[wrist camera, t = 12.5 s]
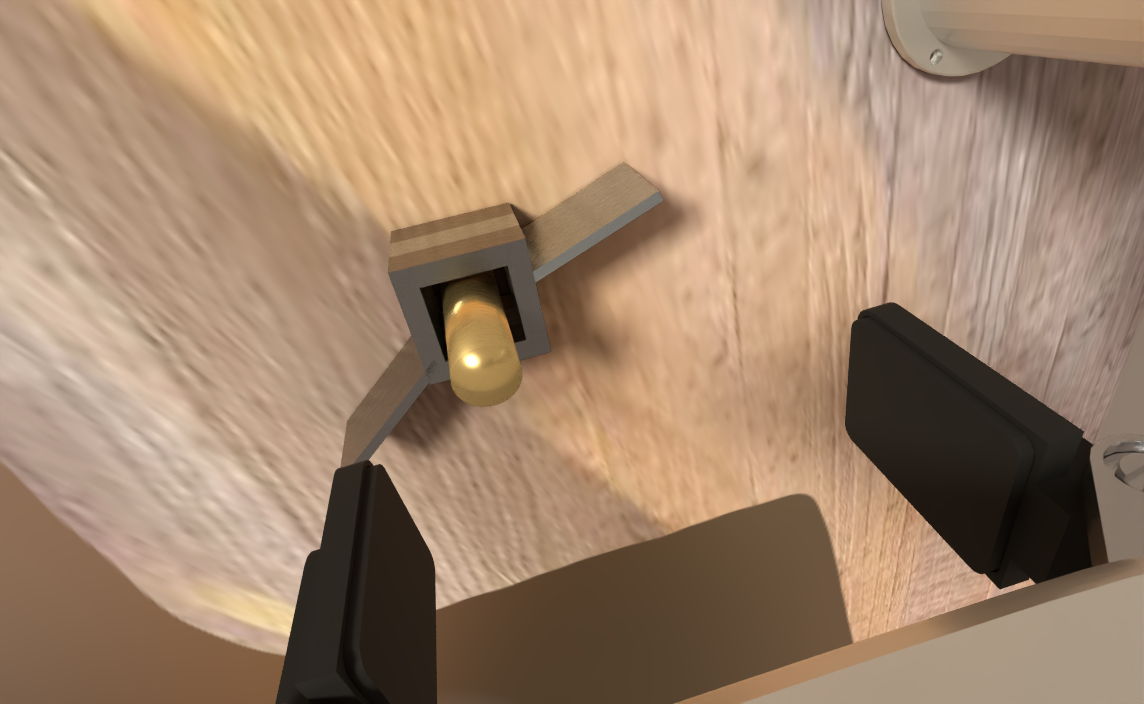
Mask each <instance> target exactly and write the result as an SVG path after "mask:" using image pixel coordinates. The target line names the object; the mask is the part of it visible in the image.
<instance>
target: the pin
mask: <svg viewBox="0 0 1144 704" xmlns="http://www.w3.org/2000/svg"><path fill="white" fill-rule="evenodd" d="M440 287H441V296H442V305H443V314H444V324H445V333H446V342H447V352H448V361H449V370H450V379H451V386H452V389H453V391H454V392H455V394H456V395H457V396H458V397H459V398H460V399H461V400H462V401H464V402H466V403H468V404H470V405H474V406H480V407H488V406H494V405H497V404H500V403H502V402H504V401H506V400H508V399H509V398H510V397H512V396H513V395H514V394H515V392H516V391H517V390H518V388H519V386H520V384H521V381H522V368H521V364H520V361H519V358H518V354H517V351H516V348H515V344H514V341H513V338H512V334H511V331H510V328H509V324H508V321H507V317H506V314H505V311H504V307H503V304H502V301H501V297H500V294H499V291H498V287H497V284H496V281H495V277H494V274H493V270H488V271H484V272H481V273H477V274H473V275H469V276H465V277H461V278H457V279H453V280H449V281H445V282H442V283H440Z"/></svg>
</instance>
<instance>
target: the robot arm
mask: <svg viewBox="0 0 1144 704" xmlns="http://www.w3.org/2000/svg"><path fill="white" fill-rule="evenodd" d="M882 10H883V15H884V21H885V26H886V29H887V31H888V34H889V36H890V39H891V41H892V44H893V45H894V47H895V48H896V49H897V51H898V52H899V54H900V55H901V56H902V58H904V59H905V60H906V61H907V62H908V63H910V64H911V65H912V66H913V67H915V68H917V69H920V70H922V71H924V72H927V73H930V74H937V75H942V76H965V75H969V74H973V73H977V72H981V71H983V70H985V69H987V68H989V67H992V66H994V65H996V64H998V63H999V62H1001V61H1002V60H1004V59H1005V58H1007V57H1008V56H1010V55H1011V54H1019V55H1028V56H1038V57H1047V58H1057V59H1066V60H1075V61H1085V62H1094V63H1103V64H1113V65H1122V66H1132V67H1141V68H1144V0H882ZM845 426H846V430H847V433H848V435H849V437H850V438H851V440H852V441H853V442H854V443H855V444H856V445H857V446H858V447H859V448H860V450H861V451H862V452H863V453H864V454H865V455H866V456H867V457H868V458H869V459H870V460H871V461H872V462H873V464H874V465H875V466H876V467H877V468H878V469H879V470H880V471H881V472H882V473H883V474H884V475H885V477H886V478H887V479H888V480H889V481H890V482H891V483H892V484H893V485H894V486H895V487H896V488H897V489H898V491H899V492H900V493H901V494H902V495H903V496H904V497H905V498H906V499H907V500H908V501H909V502H910V503H911V505H912V506H913V507H914V508H915V509H916V510H917V511H918V512H919V513H920V514H921V515H922V516H923V517H924V519H925V520H926V521H927V522H928V523H929V524H930V525H931V526H932V527H933V528H934V529H935V530H936V531H937V533H938V534H939V535H940V536H941V537H942V538H943V539H944V540H945V541H946V542H947V543H948V544H949V545H950V547H951V548H952V549H953V550H954V551H955V552H956V553H957V554H958V555H959V556H960V557H961V558H962V559H963V561H964V562H965V563H966V564H967V565H968V566H969V567H970V568H971V569H972V570H973V571H975V572H977V573H979V574H984V573H985V574H986V575H987V576H988V578H989V579H990V580H991V581H992V582H993V583H994V584H995V585H996V586H997V587H998V588H999V589H1002V588H1005V587H1008V586H1011V585H1014V584H1017V583H1020V582H1023V581H1026V580H1029V577H1030V578H1031V579H1032V580H1033V581H1034V582H1035V583H1036V584H1035V585H1031V586H1028V587H1025V588H1022V589H1019V590H1015V591H1012V592H1009V593H1006V594H1002V595H999V596H996V597H993V598H990V599H987V600H984V601H981V602H978V603H975V604H972V605H969V606H966V607H963V608H960V609H957V610H954V611H950V612H947V613H944V614H941V615H938V616H935V617H932V618H929V619H926V620H923V621H920V622H917V623H914V624H911V625H908V626H905V627H902V628H899V629H896V630H893V631H890V632H887V633H884V634H881V635H878V636H875V637H872V638H869V639H865V640H862V641H859V642H856V643H854V644H851V645H848V646H845V647H842V648H839V649H836V650H833V651H830V652H827V653H824V654H821V655H818V656H815V657H812V658H809V659H806V660H803V661H800V662H797V663H794V664H791V665H788V666H785V667H782V668H779V669H776V670H773V671H770V672H767V673H764V674H761V675H758V676H755V677H752V678H749V679H746V680H743V681H740V682H738V683H734V684H731V685H728V686H725V687H723V688H719V689H717V690H714V691H711V692H707V693H705V694H701V695H698V696H696V697H693V698H690V699H687V700H684V701H681V702H678V703H675V704H1144V435H1135V434H1120V435H1113V436H1108V437H1106V438H1104V439H1101V440H1099V441H1097V442H1096V443H1095V445H1093V444H1091V443H1090V442H1088V441H1087V440H1086V439H1084V438H1083V437H1082V436H1083V433H1084V431H1082V430H1081V429H1079V428H1078V427H1076V426H1075V425H1073V424H1072V423H1071V422H1069V421H1068V420H1066V419H1065V418H1063V417H1062V416H1060V415H1059V414H1057V413H1056V412H1054V411H1053V410H1052V409H1050V408H1049V407H1047V406H1046V405H1044V404H1043V403H1041V402H1040V401H1038V400H1037V399H1035V398H1034V397H1033V396H1031V395H1030V394H1028V393H1027V392H1025V391H1024V390H1022V389H1021V388H1019V387H1018V386H1016V385H1015V384H1014V383H1012V382H1011V381H1009V380H1008V379H1006V378H1005V377H1003V376H1002V375H1000V374H999V373H997V372H996V371H995V370H993V369H992V368H990V367H989V366H987V365H986V364H984V363H983V362H981V361H980V360H978V359H977V358H975V357H974V356H973V355H971V354H970V353H968V352H967V351H965V350H964V349H962V348H961V347H959V346H958V345H956V344H955V343H954V342H952V341H951V340H949V339H948V338H946V337H945V336H943V335H942V334H940V333H939V332H937V331H936V330H935V329H933V328H932V327H930V326H929V325H927V324H926V323H924V322H923V321H921V320H920V319H918V318H917V317H916V316H914V315H913V314H911V313H910V312H908V311H907V310H905V309H904V308H902V307H901V306H899V305H898V304H896V303H891V302H889V303H886V304H883V305H879V306H876V307H873V308H869V309H866V310H863V311H862V312H860V314H859V316H858V320H856V321H854V322H853V324H852V327H851V341H850V356H849V371H848V386H847V401H846V416H845ZM436 671H437V670H436V594H435V566H434V561H433V557H432V554H431V552H430V550H429V548H428V547H427V545H426V543H425V541H424V539H423V537H422V536H421V534H420V532H419V530H418V528H417V527H416V525H415V523H414V521H413V519H412V517H411V516H410V514H409V512H408V510H407V508H406V506H405V505H404V503H403V501H402V499H401V497H400V495H399V494H398V492H397V490H396V488H395V486H394V484H393V483H392V481H391V479H390V477H389V475H388V474H387V472H386V470H385V468H384V467H383V466H382V465H381V464H378V465H375V466H373V464H372V463H371V462H370V461H369V460H365V461H361V462H358V463H355V464H351V465H348V466H345V467H341V468H338V469H337V470H336V471H335V474H334V478H333V483H332V489H331V494H330V499H329V504H328V510H327V515H326V520H325V526H324V531H323V536H322V541H321V547H320V549H319V550H315V551H312V552H311V553H310V554H309V555H308V557H307V560H306V563H305V566H304V571H303V576H302V580H301V585H300V590H299V595H298V599H297V604H296V609H295V614H294V618H293V623H292V628H291V633H290V637H289V642H288V647H287V652H286V656H285V661H284V666H283V671H282V676H281V680H280V685H279V690H278V694H277V699H276V704H437V672H436Z"/></svg>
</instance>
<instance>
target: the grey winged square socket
mask: <svg viewBox="0 0 1144 704" xmlns="http://www.w3.org/2000/svg"><path fill="white" fill-rule="evenodd" d="M662 201H663V198H662V196H661V194H660V192H659V190H657V189H656V188H655V187H654V186H652V185H651V184H650V183H649V182H647V181H646V180H645V179H644V178H643V177H641V176H640V175H639V174H638V173H636V172H635V171H634V170H633V169H631V168H630V167H629V166H628V165H626V164H625V163H624V162H623V163H622V164H620V165H619V166H617V167H616V168H614V169H613V170H611V171H609V172H608V173H606V174H605V175H603V176H602V177H600V178H599V179H597V180H596V181H594V182H593V183H591V184H590V185H588V186H587V187H585V188H583V189H582V190H580V191H579V192H577V193H576V194H574V195H573V196H571V197H570V198H568V199H567V200H565V201H564V202H562V203H561V204H559V205H558V206H556V207H554V208H553V209H551V210H550V211H548V212H547V213H545V214H544V215H542V216H541V217H539V218H538V219H536V220H535V221H533V222H532V223H530V224H528V225H527V226H525V227H524V228H522V229H521V228H520V226H519V223H518V221H517V219H516V217H515V215H514V213H513V211H512V208H511V206H510V204H509V203H505V204H501V205H497V206H493V207H489V208H485V209H481V210H477V211H473V212H469V213H465V214H461V215H457V216H452V217H448V218H444V219H440V220H436V221H432V222H428V223H424V224H420V225H416V226H412V227H408V228H403V229H399V230H395V231H391V240H390V253H389V266H388V274H389V277H390V280H391V282H392V285H393V287H394V290H395V293H396V295H397V298H398V301H399V303H400V306H401V309H402V311H403V314H404V317H405V319H406V322H407V324H408V327H409V330H410V332H411V335H412V336H411V337H410V338H409V340H408V341H407V342H406V344H405V345H404V346H403V348H402V349H401V350H400V352H399V353H398V354H397V356H396V357H395V358H394V360H393V361H392V362H391V364H390V365H389V366H388V368H387V369H386V370H385V372H384V373H383V374H382V376H381V377H380V378H379V380H378V381H377V382H376V384H375V385H374V386H373V388H372V389H371V390H370V392H369V393H368V394H367V396H366V397H365V398H364V400H363V401H362V402H361V404H360V405H359V406H358V408H357V409H356V410H355V412H354V413H353V414H352V416H351V417H350V418H349V420H348V421H347V426H346V433H345V440H344V447H343V454H342V461H341V467H345V466H348V465H351V464H355V463H358V462H361V461H365V460H369V459H370V457H371V456H372V455H373V454H374V452H375V451H376V450H377V449H378V447H379V446H380V445H381V443H382V442H383V441H384V440H385V438H386V437H387V436H388V435H389V433H390V432H391V431H392V429H393V428H394V427H395V426H396V424H397V423H398V422H399V421H400V419H401V418H402V417H403V415H404V414H405V413H406V412H407V410H408V409H409V408H410V407H411V405H412V404H413V403H414V401H415V400H416V399H417V398H418V396H419V395H420V394H421V393H422V391H423V390H424V389H425V387H426V386H427V385H428V384H429V383H430V385H432V384H436V383H439V382H443V381H447V380H450V370H449V361H448V352H447V342H446V333H445V324H444V314H443V312H440V309H439V306H438V303H437V300H436V297H435V294H434V291H433V288H432V285H434V284H438V283H442V282H445V281H449V280H453V279H457V278H461V277H465V276H469V275H473V274H477V273H481V272H484V271H488V270H492V269H496V268H500V267H504V268H505V272H506V276H507V280H508V284H509V288H510V292H511V294H508V295H505V296H501V301H502V304H503V307H504V311H505V314H506V317H507V321H508V324H509V328H510V331H511V334H512V338H513V341H514V344H515V348H516V351H517V354H518V358H519V361H520V360H523V359H527V358H531V357H534V356H538V355H542V354H545V353H549V352H551V349H550V344H549V340H548V336H547V331H546V327H545V322H544V318H543V314H542V309H541V305H540V300H539V296H538V292H537V287H536V282H537V281H539V280H541V279H542V278H544V277H545V276H547V275H548V274H550V273H551V272H553V271H555V270H556V269H558V268H559V267H561V266H562V265H564V264H565V263H567V262H569V261H570V260H572V259H573V258H575V257H576V256H578V255H579V254H581V253H583V252H584V251H586V250H587V249H589V248H590V247H592V246H593V245H595V244H597V243H598V242H600V241H601V240H603V239H604V238H606V237H607V236H609V235H611V234H612V233H614V232H615V231H617V230H618V229H620V228H621V227H623V226H625V225H626V224H628V223H629V222H631V221H632V220H634V219H635V218H637V217H639V216H640V215H642V214H643V213H645V212H646V211H648V210H649V209H651V208H653V207H654V206H656V205H657V204H659V203H660V202H662Z"/></svg>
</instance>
